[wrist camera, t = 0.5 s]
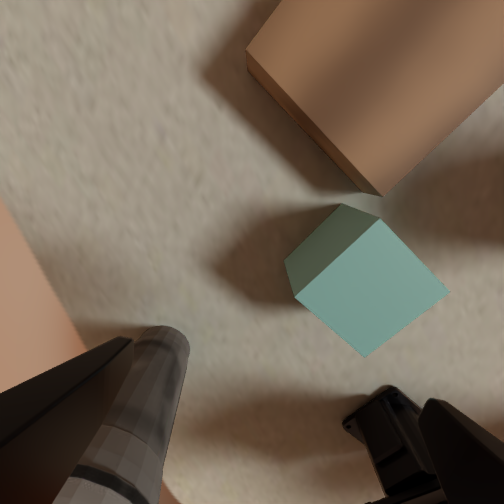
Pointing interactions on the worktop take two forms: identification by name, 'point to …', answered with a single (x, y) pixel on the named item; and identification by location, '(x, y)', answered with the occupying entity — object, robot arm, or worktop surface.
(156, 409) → the beverage cup
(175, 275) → the worktop surface
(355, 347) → the teal block
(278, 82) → the walnut base
